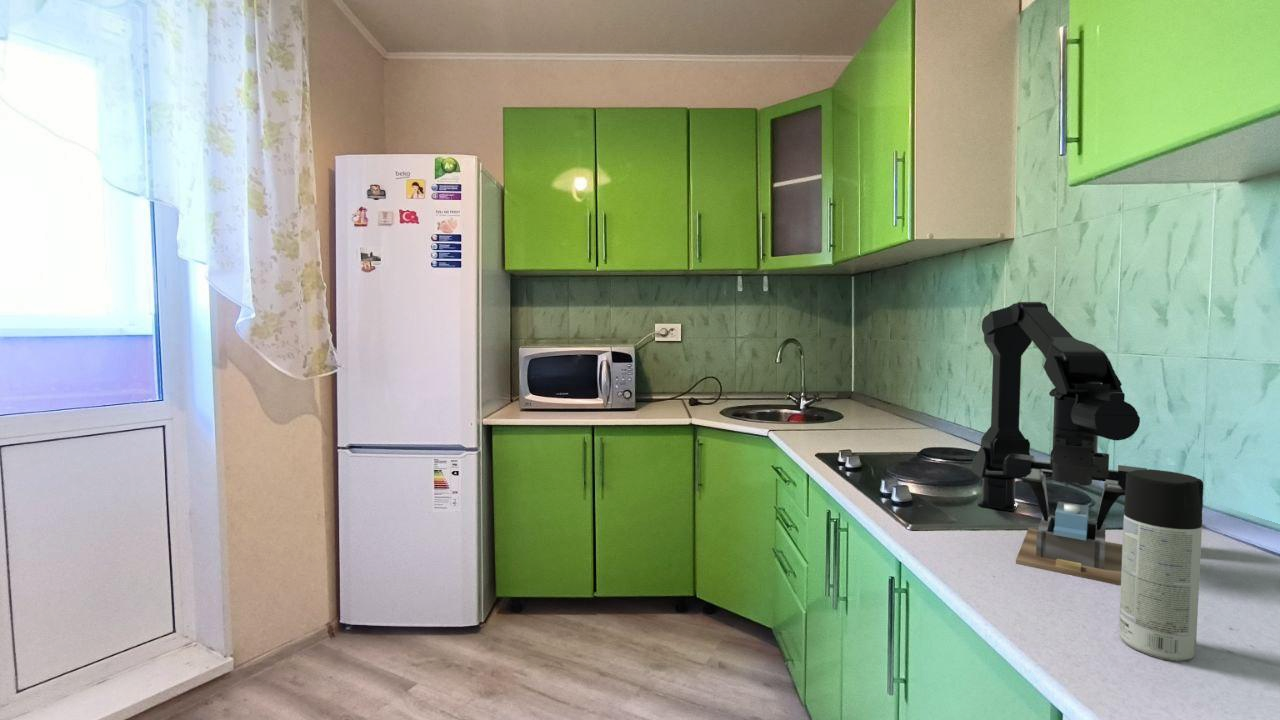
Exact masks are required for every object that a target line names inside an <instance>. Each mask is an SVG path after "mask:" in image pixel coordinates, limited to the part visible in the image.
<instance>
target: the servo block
mask: <svg viewBox="0 0 1280 720" xmlns="http://www.w3.org/2000/svg"><path fill="white" fill-rule="evenodd" d="M1054 516H1055V527H1054V535H1058V536H1063V537H1069V538H1074V539H1080V540H1086V538H1087V534H1088V521H1089V505H1087V504H1086V505H1084V504H1078V503H1072V502H1064V501H1058V502H1057V503H1056V509H1055V512H1054Z"/></svg>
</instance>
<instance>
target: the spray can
mask: <svg viewBox="0 0 1280 720" xmlns="http://www.w3.org/2000/svg"><path fill="white" fill-rule="evenodd" d="M1203 501H1204V482H1203V480H1202V479H1201V478H1198V477H1196V476H1193V475H1190V474H1185V473H1180V472H1174V471H1169V470H1161V469H1151V468H1150V469H1148V468H1147V470H1135V471H1129V472H1128V473H1127V474H1126V488H1125V496H1124V505H1123V506H1124V509H1123V522H1122V523H1123V524H1122V526H1123V527H1122V545H1123V548H1122V572H1121V585H1120V596H1119V597H1120V601H1119V617H1118V618H1119V625H1118V627H1119V628H1118V632H1119V637H1120V639H1121V641H1122V643H1124V644H1125V645H1126V646H1128V647H1130V648H1132V649H1133V650H1136V651H1138V652H1141V653H1143V654H1145V655H1147V656H1151V657H1153V658H1156V659H1161V660H1164V659H1165V660H1164V661H1174V660H1175V662H1176V661H1177V662H1184V661H1191V660H1192V659H1193V658H1194V656H1195V655H1196V650H1197V637H1198V636H1197V635H1198V633H1197V632H1198V617H1199V616H1198V614H1199V613H1198V612H1199V611H1198V610H1199V595H1200V594H1199V593H1200V592H1199V591H1200V576H1201V574H1200V573H1201V572H1200V571H1201V555H1202V554H1201V553H1202V536H1203V535H1202V533H1203V531H1202V530H1203V506H1204V505H1203Z"/></svg>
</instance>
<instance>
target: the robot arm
mask: <svg viewBox="0 0 1280 720" xmlns="http://www.w3.org/2000/svg"><path fill="white" fill-rule="evenodd" d="M981 330H982V332H983V341H984V344H985V345H986V347H987V349H989V352H990V353H991V354H992V381H991V384H992V385H991V412H990V413H991V415H990V416H991V417H990V427H989V428H988V429H987V430H986V432H985V433H984V434H983V436H982V437H981V439H980V440H981V441H980V448H979V449H978V450H977V452H976V454H975V456H974V457H973V458H972V461H971V470H972V471H971V472H972V473H973V474H974V475H976V476H978V477H979V478H982V485H981V487H982V488H981V489H982V491H981V492H982V493H981V498H980V499H979V501H978V502H977V506H978V507H983V508H990V509H997V510H1001V511H1002V510H1003V511H1006V512H1007V511H1009V512H1016V510H1017V508H1016V506H1014V504H1015V501H1016V500H1015V499H1016V498H1015V497H1016V479H1020V480H1021V483H1027V484H1028V485H1029V486H1030V487H1031V489H1032V491H1033V493H1034V495H1035V497H1036V499H1037V504H1038V505H1039V508H1040V511H1041V514H1042V516H1043V517H1044V520H1045V521H1048V515H1049V511H1050V510H1049V502H1048V490H1047V489H1048V488H1047V480H1046V475H1051V478H1052V480H1053V481H1054V482H1057V483H1062V484H1063V483H1071V484H1077V485H1079V486H1091V485H1092V483H1093V481H1099V482H1100V481H1101V482H1104V484H1103V488H1102V492H1101V494H1102V495H1101V498H1100V503H1099V506H1098V507H1099V508H1098V513H1097V517H1096V523H1097V530H1100V529H1101V527H1102V525H1103V524H1104V523H1105V521H1106V518H1107V517H1108V514H1109V512H1110V509H1112V507H1113V505H1114V504H1115V502H1116V501H1117V500H1118V499H1119V498H1120V497H1122V496H1124V497H1125V488H1126V474H1127V473H1128V472H1129V471H1135V470H1147V469H1148V468H1146V467H1139V466H1138V467H1137V466H1130V465H1120V464H1118V465H1117V470H1115V469H1114V470H1113V469H1109V464H1110V454H1109V453H1105V452H1104V453H1103V452H1098V443H1099V437H1100V438H1103V439H1107V440H1110V441H1123V440H1126V439H1129V438H1130V437H1132V436H1133V435H1134V434H1135V433H1136V432H1137V431H1138V429H1139V428H1140V423H1141V418H1140V416H1139V412H1138V411H1137V410H1136V408H1135V407H1134V406H1133V405H1132V404H1130V403H1129V402H1126V401H1125V397H1126V396H1125V392H1123V389H1122V387H1121V386H1122V382H1121V380H1120V379H1119V377H1118V376H1117V373H1116V372H1115V369H1114V367H1113V366H1112V363H1111V361H1110V359H1109V357H1108V355H1107V354H1106V353H1105V352H1104V350H1102V349H1100V348H1099V347H1098V346H1096V345H1094V344H1092V343H1088V342H1086V341H1083V340H1079V339H1077V338H1075V337H1074V336H1073V335H1072V334H1071V333H1070V332H1069V331H1068V330H1067V329H1066V328H1065V327H1064V325H1063V324H1062V323H1060V322H1059V320H1058V319H1057V318H1056V317H1055V316H1054V315H1053V314H1052V313H1051V312H1050V311H1049V307H1048V305H1047V303H1045V302H1042V301H1018V302H1016V303H1012V304H1011V305H1009V306H1006V307H1004V308H1000V309H997V310H993V311H989V313H988V314H987V315H985V316H984V317H983V319H982V322H981ZM1032 342H1033V344H1034V345H1035V346H1036V348H1038V349H1039V351H1040V352H1041V353H1042V354H1043V356H1044V358H1045V360H1044V364H1043V370H1044V371H1045V372H1046V373H1045V374H1046V376H1047V378H1048V379H1049V380H1050V382H1051V383H1052V385H1053V386H1054V388H1052V389H1051V390H1050V391H1049V393H1048V394H1049V396H1050V397H1054V399H1053V422H1052V423H1053V425H1052V427H1053V429H1052V449H1051V452H1050V457H1049V459H1050V460H1049V461H1050V462H1044V461H1037V460H1035V455H1032V454H1031V453H1030V451H1031V450H1030V449H1031V443H1030V440H1029V439H1028V438H1025V435H1023V433H1022V431H1021V430H1020V409H1021V408H1020V407H1021V385H1022V384H1021V383H1022V382H1021V380H1022V375H1021V374H1022V356H1023V355H1024V353H1025V352H1026V351H1027V350H1028V348H1029V347H1030V346H1031V344H1032Z"/></svg>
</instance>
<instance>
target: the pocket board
mask: <svg viewBox="0 0 1280 720" xmlns="http://www.w3.org/2000/svg"><path fill="white" fill-rule="evenodd" d="M1054 527H1055V515H1051V514H1048V521H1045V520H1044V517H1043V515H1042V517H1041V520H1040V522H1039V525H1038V528H1037V529H1036V528H1030V527H1028V528H1027V531H1026V533H1025V536H1024V539H1023V540H1022V543H1021V546H1020V549H1019V550H1018V551H1019V552H1018V553H1017V556H1016V558H1015V563H1016V564H1018V565H1023V566H1028V567H1032V568H1037V569H1042V570H1046V571H1050V572H1055V573H1059V574H1060V573H1061V574H1065V575H1071V576H1075V577H1079V578H1084V579H1088V580H1094V581H1099V582H1104V583H1109V584H1113V585H1118V586H1121V572H1122V548H1123V543H1122V544H1121V543H1115V542H1110V541H1106V527H1107V526H1106V523H1103V525H1102V527H1101V529H1100V530H1097V522H1094V521H1089V520H1088V534H1087V538H1086V540H1080V539H1074V538H1069V537H1063V536H1058V535H1054Z"/></svg>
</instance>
